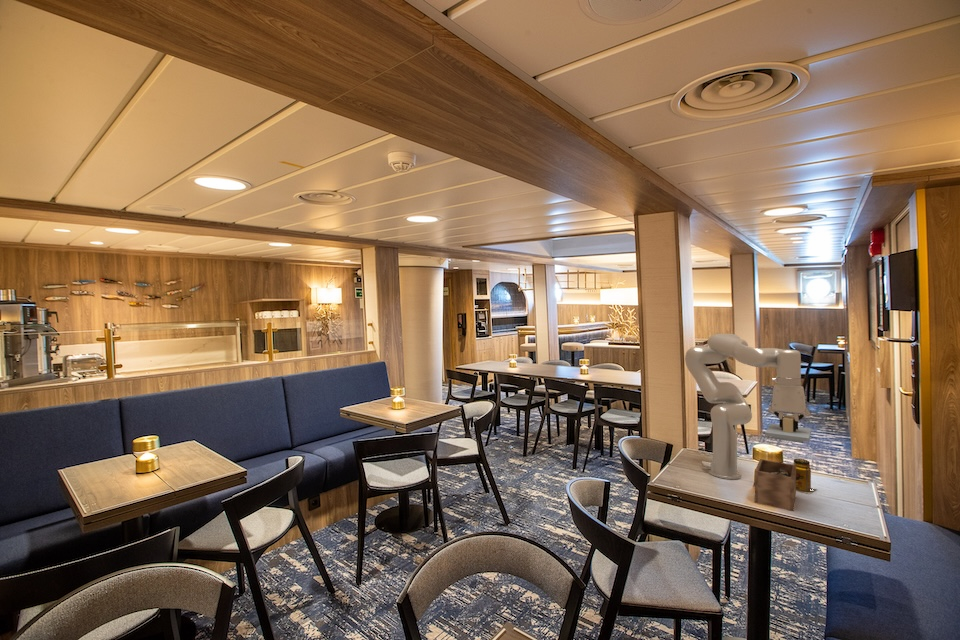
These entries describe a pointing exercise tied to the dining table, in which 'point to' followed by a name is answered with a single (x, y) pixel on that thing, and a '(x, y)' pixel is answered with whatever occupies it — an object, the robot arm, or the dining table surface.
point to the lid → (788, 431)
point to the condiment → (803, 476)
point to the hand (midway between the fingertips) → (788, 429)
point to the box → (775, 485)
